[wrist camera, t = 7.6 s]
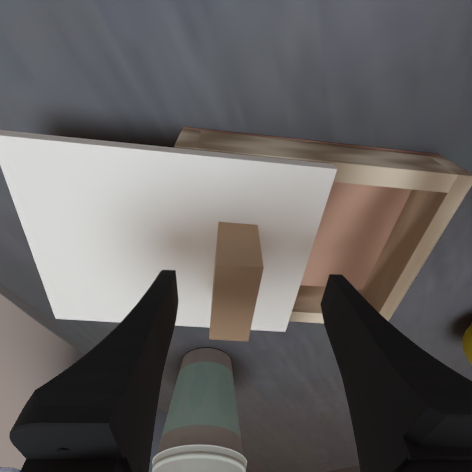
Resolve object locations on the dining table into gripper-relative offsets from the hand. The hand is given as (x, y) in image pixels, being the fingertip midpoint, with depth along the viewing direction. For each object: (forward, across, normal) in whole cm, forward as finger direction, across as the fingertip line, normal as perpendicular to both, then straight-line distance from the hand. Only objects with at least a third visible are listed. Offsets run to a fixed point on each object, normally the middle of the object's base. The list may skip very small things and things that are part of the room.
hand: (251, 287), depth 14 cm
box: (+10, -4, +3) cm, 12 cm away
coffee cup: (+10, +3, +23) cm, 25 cm away
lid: (+6, +5, +2) cm, 8 cm away
